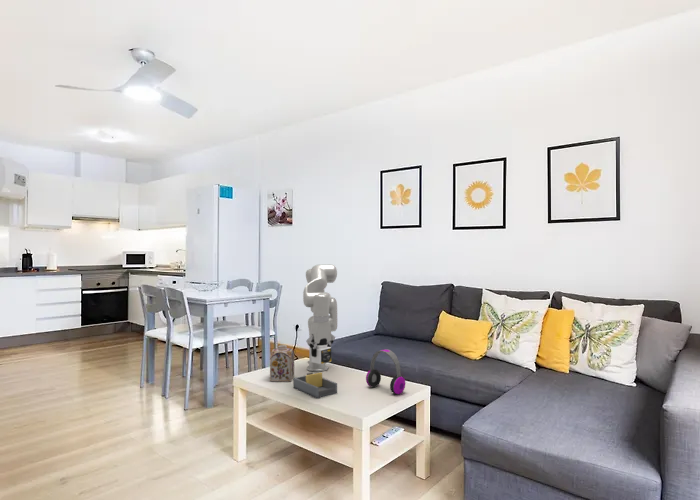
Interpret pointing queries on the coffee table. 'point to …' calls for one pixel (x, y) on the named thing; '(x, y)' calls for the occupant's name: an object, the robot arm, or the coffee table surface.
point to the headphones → (375, 377)
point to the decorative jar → (282, 364)
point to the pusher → (314, 379)
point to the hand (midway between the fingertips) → (321, 355)
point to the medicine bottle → (322, 353)
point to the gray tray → (316, 392)
